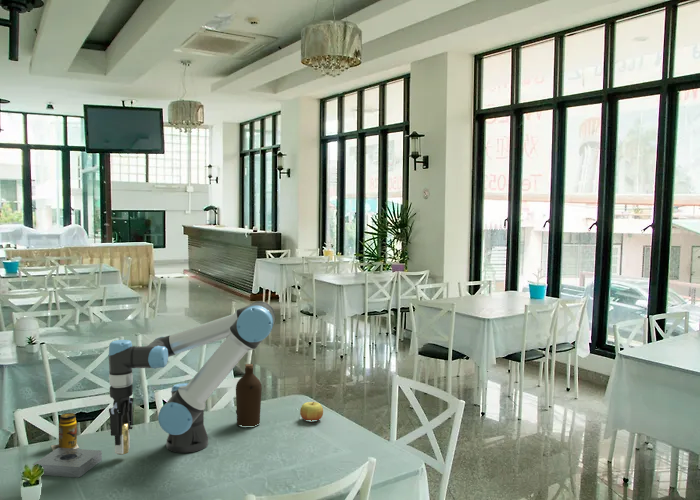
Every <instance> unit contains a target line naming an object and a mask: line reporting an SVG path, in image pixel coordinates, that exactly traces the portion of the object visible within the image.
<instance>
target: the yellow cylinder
mask: <svg viewBox="0 0 700 500" xmlns="http://www.w3.org/2000/svg"><path fill="white" fill-rule="evenodd" d="M122 435H123V449H124V453H123V454H118V455H126V454H128V453H130V452H129V450H130V448H129V444H128V423H126V422H123V423H122Z"/></svg>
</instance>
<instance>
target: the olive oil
mask: <svg viewBox="0 0 700 500" xmlns="http://www.w3.org/2000/svg"><path fill="white" fill-rule="evenodd" d="M244 366H245V367H244V374H243V375H242V376H241V377H240V378H239V379H238V381H237V383H236V385H235V402H236V403H235V405H236V407H235V408H236V410H235V414H236V425H237V424H238V425H242V426H255V425H257V424H259V423H260V424H261V404H262V392H263V391H262V390H263V386H262V382H261V380H260V379H259V378H258V377H257V376H256V374H254V364H253V363H246V364H245V365H244ZM260 424H259V425H260ZM238 425H237V426H238Z"/></svg>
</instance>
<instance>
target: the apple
mask: <svg viewBox="0 0 700 500" xmlns="http://www.w3.org/2000/svg"><path fill="white" fill-rule="evenodd" d="M299 413H300V417H301V418H302V420H304V419H305V420H311V421H312V420H319V419H320V420H321V419H322V418H323V415H324V408H323V406H322V404H320V403H319V402H317V401H307V402H304V403H303V404H302V405H301V407H300V411H299ZM305 420H304V421H305ZM320 420H319V421H320Z"/></svg>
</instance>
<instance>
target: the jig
mask: <svg viewBox="0 0 700 500" xmlns="http://www.w3.org/2000/svg"><path fill="white" fill-rule="evenodd" d="M102 454H103V451H102V450H98V449H83V448H77V449H72V448H57V449H55V450H54V451H53V450H52V451H51V452H48V453H47V454H46V455H45V456H43V457H42V458H39V460H37V461H35V462H33V464H32V465H33V466H34V465H36V464H39V465H41V466H42V467H43V468H44V474H43V475H42V476H50V477H51V476H53V477H66V478H81V477H82V476H83V475H84V474H86V473H87V472H89V471H90V470H91V469H93V468H94V467H96V465H98V464H99V463H100V462H102ZM33 466H32V467H33Z"/></svg>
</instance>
